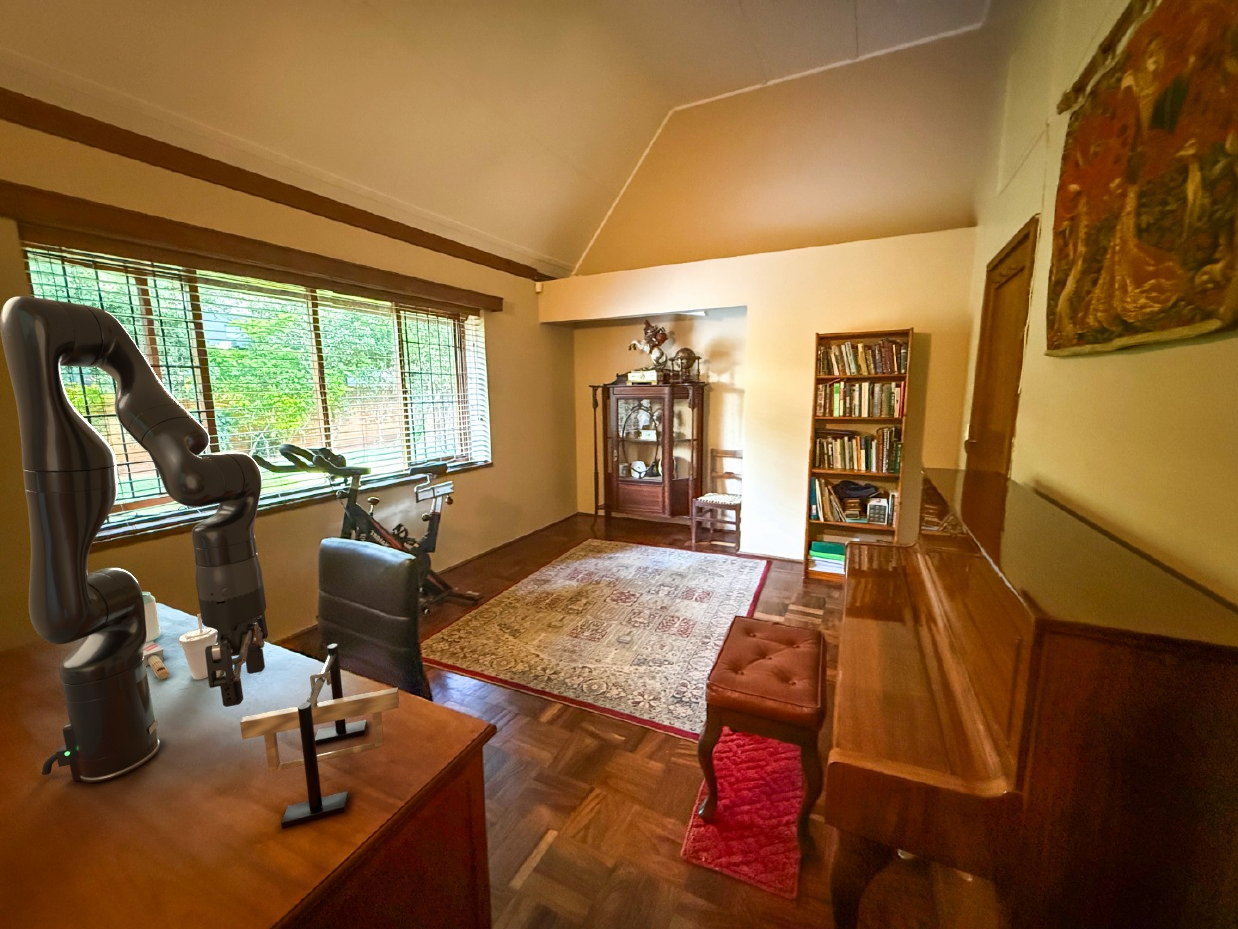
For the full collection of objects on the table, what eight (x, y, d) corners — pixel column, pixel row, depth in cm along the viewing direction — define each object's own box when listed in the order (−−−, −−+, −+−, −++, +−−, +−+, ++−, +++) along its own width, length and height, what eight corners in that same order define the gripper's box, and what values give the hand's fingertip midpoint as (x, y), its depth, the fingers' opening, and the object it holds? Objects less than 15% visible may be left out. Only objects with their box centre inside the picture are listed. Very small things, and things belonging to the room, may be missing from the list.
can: (152, 631, 123) (145, 588, 121) (166, 637, 120) (159, 593, 118) (115, 645, 117) (107, 599, 115) (130, 651, 114) (121, 604, 112)
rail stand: (281, 829, 67) (267, 718, 65) (318, 734, 86) (308, 645, 83) (344, 812, 70) (333, 705, 67) (367, 724, 88) (359, 638, 86)
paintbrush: (154, 634, 115) (174, 666, 104) (155, 645, 116) (175, 677, 104) (132, 641, 112) (150, 674, 101) (133, 651, 113) (151, 685, 101)
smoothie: (227, 671, 105) (219, 613, 103) (190, 686, 100) (181, 625, 98) (216, 663, 109) (208, 606, 106) (180, 677, 103) (170, 617, 101)
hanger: (247, 780, 73) (235, 691, 71) (251, 773, 75) (239, 685, 72) (401, 745, 80) (394, 663, 78) (402, 739, 82) (395, 658, 79)
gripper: (222, 573, 75) (235, 667, 77) (173, 612, 62) (191, 723, 64) (277, 567, 77) (289, 658, 80) (241, 603, 64) (256, 710, 67)
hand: (245, 687), depth 72 cm, fingers open, 8 cm apart
